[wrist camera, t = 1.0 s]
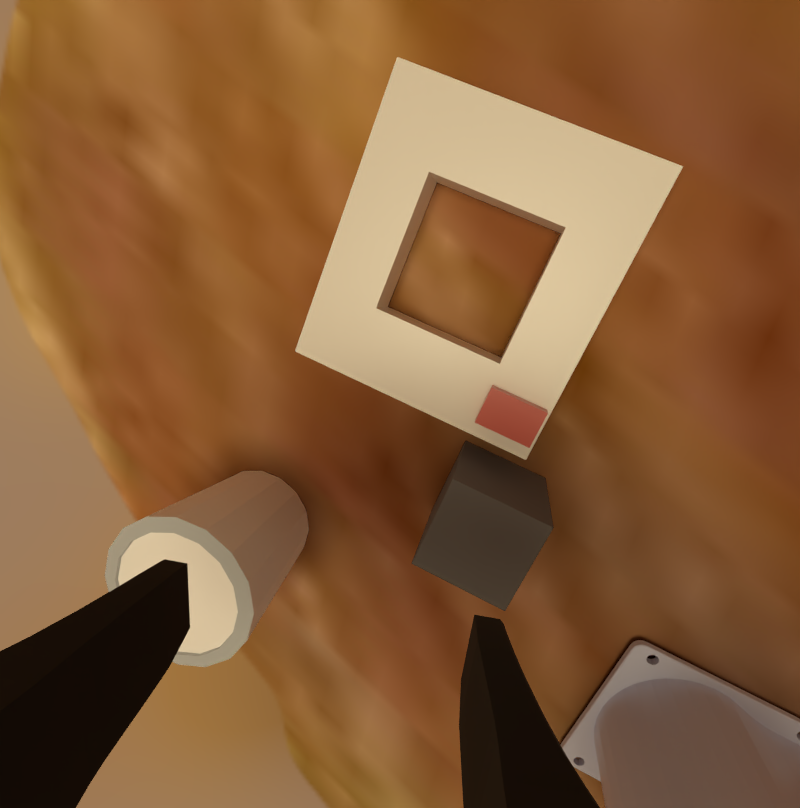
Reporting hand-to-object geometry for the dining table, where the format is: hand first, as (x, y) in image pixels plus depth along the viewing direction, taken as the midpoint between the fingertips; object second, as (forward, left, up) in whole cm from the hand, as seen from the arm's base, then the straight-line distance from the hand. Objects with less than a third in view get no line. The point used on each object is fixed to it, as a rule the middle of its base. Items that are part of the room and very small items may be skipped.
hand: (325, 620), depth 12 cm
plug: (-4, 0, -12) cm, 13 cm away
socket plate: (+1, -9, -12) cm, 15 cm away
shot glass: (+6, +7, -12) cm, 16 cm away
